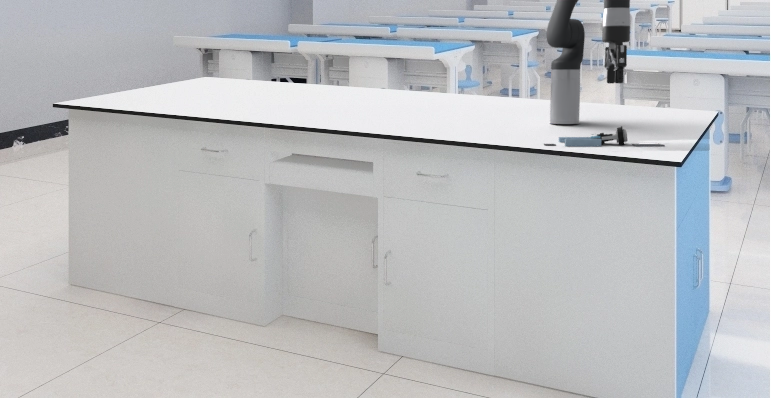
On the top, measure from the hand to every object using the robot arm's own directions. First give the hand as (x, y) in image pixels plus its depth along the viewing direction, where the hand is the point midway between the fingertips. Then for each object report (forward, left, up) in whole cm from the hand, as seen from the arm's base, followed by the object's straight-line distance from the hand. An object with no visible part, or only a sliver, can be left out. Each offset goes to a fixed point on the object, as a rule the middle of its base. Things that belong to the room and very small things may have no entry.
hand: (614, 83), depth 263 cm
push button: (0, -7, -16) cm, 17 cm away
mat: (+2, +9, -17) cm, 20 cm away
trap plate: (-1, -18, -17) cm, 25 cm away
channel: (0, -10, -17) cm, 20 cm away
